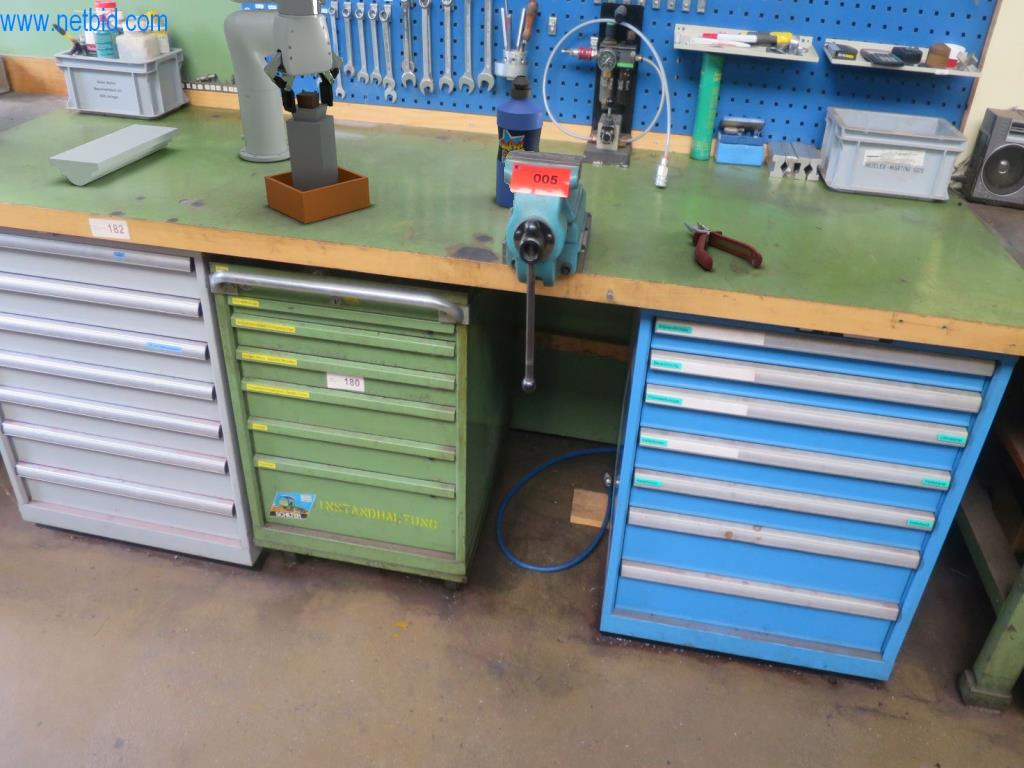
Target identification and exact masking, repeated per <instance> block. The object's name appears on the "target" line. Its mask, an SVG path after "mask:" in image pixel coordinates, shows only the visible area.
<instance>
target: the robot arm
mask: <svg viewBox="0 0 1024 768" xmlns="http://www.w3.org/2000/svg"><path fill="white" fill-rule="evenodd" d="M230 1H231V2H233V3H236V4H271V3H273V4H276V6H277V8H273V9H272V8H271V9H263V8H262V9H260V8H259V9H241V10H235V11H232V12H230V13H229V14H228V15H226V16H225V18H224V21H223V33H224V37H225V41H226V44H227V48H228V51H229V54H230V55H229V56H230V58H231V62H232V68H233V72H234V73H233V74H234V79H235V84H236V91H237V92H236V93H237V98H238V106H239V112H240V119H241V127H242V133H243V134H241V135H240V138H241V140H242V141H244V147H241V149H239V151H238V153H239V157H240V158H241V159H242V160H245V161H249V162H254V163H255V162H257V163H271V162H279V161H284V160H287V159H290V154H289V145H288V142H287V136H286V135H287V133H286V127H285V126H286V125H285V118H284V111H286V112H288V113H296V104H297V102H296V94H295V91H294V90H292V88H293V86H294V82H295V80H296V77H303V76H309V75H315V74H317V76H318V77H319V79H320V80H321V81H319V87H318V88H319V99H320V103H322V104H328V106H327V107H329V108H331V107H334V89H333V86H334V85H335V83H336V78H337V77H338V75H339V73H340V70H341V69H342V66H343V64H344V58H343V57H341V56H340V55H338V54H337V53H336V52H335V51H333V50H332V46H331V38H330V31H329V29H328V24H327V21H326V16H325V14H323V13H322V7H325V6H326V0H230ZM267 57H272V58H271V59H270V60H269V61H268V62H267V61H266V58H267ZM277 72H278V73H280V76H279V75H278V73H277Z"/></svg>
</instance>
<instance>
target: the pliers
mask: <svg viewBox="0 0 1024 768" xmlns="http://www.w3.org/2000/svg"><path fill="white" fill-rule="evenodd" d="M696 224H697V225H695V224H693V223H689V222H685V221H684V222H683V225H684V226H685V227H686V229H687V230H688V232H690V234H691V235H692V245H693V246H695V250H694V258H695V260H696V262H697V263H698V264H699V265H700V266H701V267H703V269H705V270H712V269H713V265H714V260H713V257H712V255H711V254H709V253H708V251H706V250H705V249H706V248H705V247H706V244H708V245H709V246H711V247H715V248H717V249H721V250H723V251H726V252H728V253H731V254H734V255H737V256H739V257H741V258H743V259H746V260H747V261H748V262H749V263H750V264H751V265H752V266H753V267H760V266H761V265H762V264H763V261H764V259H763V255H762V253H760V252H759V251H758V250H757V249H756V248H755V247H754V246H751V245H750V244H747V243H746V242H743V241H740V240H737V239H735V238H732V237H728V236H727V235H726V236H725V235H723V232H722V230H718V229H717V230H712V231H711V229H710V228H709V227H707V226H705V225H704V224H702V223H700V222H697V223H696Z"/></svg>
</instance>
